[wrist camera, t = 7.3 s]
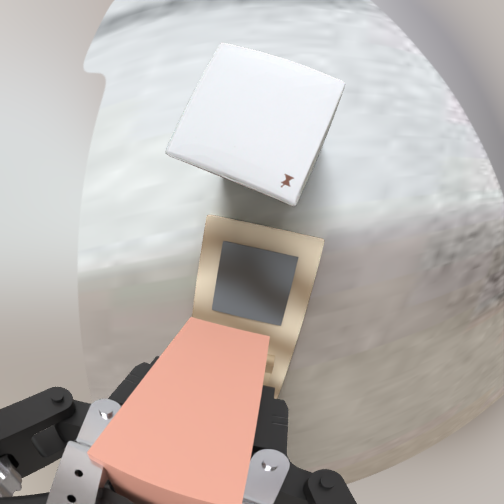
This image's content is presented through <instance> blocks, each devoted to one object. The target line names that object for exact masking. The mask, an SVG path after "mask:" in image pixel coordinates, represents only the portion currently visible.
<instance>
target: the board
mask: <svg viewBox="0 0 504 504" xmlns="http://www.w3.org/2000/svg"><path fill="white" fill-rule="evenodd" d="M324 241H325V240H324V239H322V238H318V237H313V236H309V235H304V234H300V233H295V232H291V231H286V230H282V229H277V228H273V227H268V226H263V225H258V224H254V223H249V222H244V221H239V220H234V219H229V218H224V217H219V216H214V215H207V217H206V223H205V229H204V235H203V242H202V248H201V254H200V261H199V268H198V275H197V282H196V290H195V297H194V305H193V313H192V317H193V318H197V319H200V320H204V321H208V322H212V323H215V324H219V325H223V326H227V327H231V328H235V329H240V330H244V331H248V332H253V333H257V334H262V335H266V336H270V339H269V346H268V353H267V360H266V367H265V374H264V380H263V385H265V386H270V387H275V394H274V399H277V398H278V395H279V392H280V389H281V387H282V384H283V381H284V378H285V375H286V372H287V369H288V366H289V363H290V360H291V357H292V354H293V351H294V348H295V345H296V342H297V339H298V335H299V332H300V329H301V326H302V322H303V319H304V316H305V312H306V309H307V305H308V302H309V298H310V295H311V291H312V288H313V284H314V280H315V277H316V273H317V269H318V265H319V261H320V257H321V253H322V249H323V245H324Z"/></svg>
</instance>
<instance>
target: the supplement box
mask: <svg viewBox="0 0 504 504" xmlns="http://www.w3.org/2000/svg"><path fill="white" fill-rule="evenodd" d="M344 87H345V82H343V81H341V80H339V79H337V78H334V77H332V76H329V75H327V74H325V73H322V72H320V71H317V70H315V69H312V68H309V67H307V66H304V65H301V64H299V63H296V62H293V61H290V60H287V59H284V58H281V57H277V56H274V55H271V54H267V53H264V52H260V51H257V50H253V49H249V48H245V47H241V46H236V45H232V44H227V43H220V45H219V46H218V48H217V50H216V52H215V53H214V55H213V57H212V59H211V60H210V62H209V64H208V66H207V68H206V69H205V71H204V73H203V75H202V77H201V79H200V81H199V83H198V84H197V86H196V88H195V90H194V92H193V94H192V96H191V98H190V100H189V102H188V104H187V106H186V108H185V110H184V112H183V114H182V116H181V118H180V120H179V122H178V124H177V126H176V128H175V130H174V133H173V135H172V137H171V139H170V141H169V144H168V146H167V148H166V151H165V152H166V154H167V155H169V156H171V157H173V158H176V159H178V160H181V161H183V162H186V163H188V164H191V165H193V166H196V167H198V168H201V169H203V170H206V171H208V172H210V173H213V174H215V175H218V176H220V177H223V178H225V179H228V180H230V181H233V182H235V183H238V184H240V185H242V186H245V187H247V188H250V189H252V190H255V191H257V192H260V193H262V194H265V195H267V196H270V197H272V198H274V199H277V200H279V201H281V202H284V203H286V204H288V205H290V206H296V205H297V203H298V200H299V198H300V196H301V194H302V192H303V189H304V187H305V185H306V183H307V181H308V178H309V176H310V174H311V172H312V170H313V167H314V165H315V163H316V160H317V158H318V156H319V153H320V151H321V148H322V146H323V143H324V141H325V138H326V136H327V133H328V131H329V128H330V126H331V123H332V120H333V118H334V115H335V112H336V109H337V107H338V104H339V101H340V98H341V96H342V93H343V90H344Z"/></svg>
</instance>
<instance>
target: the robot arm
mask: <svg viewBox="0 0 504 504" xmlns="http://www.w3.org/2000/svg"><path fill="white" fill-rule="evenodd" d="M158 359H159V356H157V357H155V359H154V360H153V361H152V362H151V364H148V363H145V362H144V363H142V364H140V365H138V366H135V368H134V369H133V370H132V371H131V372H130V374H129V375H128V376H127V377H126V378H125V380H123V382H122V383H121V384H120V385H119V386H118V387H117V389H116V390H115V391H114V392H113V393H112V394H111V396H110V397H109V398H108V399H99V400H96V401H94V402H93V403H92V404H88V403H84V402H80V401H76V400H73V397H72V394H71V393H70V392H69V391H68V390H67V389H65V388H62V387H52V388H50V389H47V390H45V391H43V392H41V393H38V394H36V395H33V396H31V397H29V398H26V399H24V400H22V401H19V402H17V403H14V404H12V405H10V406H7V407H5V408H2V409H0V504H134V503H133V502H131V501H130V500H129V499H127V498H126V497H123V496H121V495H119V494H117V493H116V491H115V489H114V487H113V485H112V483H111V481H110V479H109V477H108V475H107V473H106V471H105V468H104V466H102V465H100V464H99V463H97V462H95V461H93V460H91V459H90V458H89V456H88V454H87V452H88V450H89V449H90V448H91V446H92V445H93V444H94V442H95V441H96V440H97V438H98V437H99V436H100V434H101V433H102V432H103V430H104V429H105V428H106V426H107V425H108V424H109V422H110V421H111V420H112V419H113V417H114V416H115V415H116V413H117V412H118V411H119V409H120V408H121V407H122V405H123V404H124V403H125V401H126V400H127V399H128V398H129V396H130V395H131V394H132V392H133V391H134V390H135V388H136V387H137V386H138V385H139V383H140V382H141V381H142V379H143V378H144V377H145V375H146V374H147V373H148V371H149V370H150V369H151V368H152V366H153V365H154V364H155V362H156V361H157V360H158ZM274 394H275V387H270V386H265V385H263V387H262V393H261V400H260V406H259V412H258V418H257V424H256V430H255V436H254V442H253V448H252V453H251V459H250V464H249V470H248V475H247V480H246V486H245V491H244V496H243V501H242V504H357V503H356V501H355V500H354V498H353V496H352V494H351V493H350V491H349V489H348V487H347V485H346V483H345V481H344V479H343V478H342V476H341V475H340V474H338V473H337V472H335V471H332V470H327V469H323V470H318V471H316V472H314V473H311V472H308V471H306V470H303V469H300V468H298V467H296V466H295V465H293V464H292V463H291V462H290V460H289V459H288V457H287V432H288V407H287V405H286V403H285V401H284V400H280V399H274ZM60 458H61V461H60V464H59V467H58V469H57V472H56V475H55V478H54V481H53V484H52V487H51V490H50V492H48V493H42V494H35V495H26V496H14V497H12V496H13V493H14V492H15V491H20V490H21V488H22V486H21V483H22V478H23V477H25V476H28V475H30V474H31V473H33V472H35V471H37V470H39V469H41V468H43V467H45V466H47V465H49V464H51V463H53V462H54V461H56V460H58V459H60Z"/></svg>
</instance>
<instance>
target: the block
mask: <svg viewBox="0 0 504 504" xmlns="http://www.w3.org/2000/svg"><path fill="white" fill-rule="evenodd" d="M269 339H270V336H266V335H262V334H257V333H253V332H248V331H244V330H240V329H235V328H231V327H227V326H223V325H219V324H215V323H212V322H208V321H204V320H200V319H197V318H193V317H190V319H189V320H188V321H187V322H186V324H185V325H184V326H183V328H182V329H181V330H180V331H179V333H178V334H177V335H176V337H175V338H174V339H173V340H172V342H171V343H170V344H169V346H168V347H167V348H166V349H165V351H164V352H163V353H162V355H161V356H160V357H159V359H158V360H157V361H156V362H155V364H154V365H153V366H152V368H151V369H150V370H149V371H148V373H147V374H146V375H145V377H144V378H143V379H142V381H141V382H140V383H139V385H138V386H137V387H136V388H135V390H134V391H133V392H132V394H131V395H130V396H129V398H128V399H127V400H126V401H125V403H124V404H123V405H122V407H121V408H120V409H119V411H118V412H117V413H116V415H115V416H114V417H113V419H112V420H111V421H110V422H109V424H108V425H107V426H106V428H105V429H104V430H103V432H102V433H101V434H100V436H99V437H98V438H97V440H96V441H95V442H94V444H93V445H92V446H91V448H90V449H89V450H88V452H87V454H88V456H89V458H90V459H91V460H93V461H95V462H97V463H99V464H100V465H102V466H104V468H105V471H106V473H107V475H108V477H109V479H110V481H111V483H112V485H113V487H114V489H115V491H116V493H117V494H119V495H121V496H123V497H126V498H127V499H129V500H130V501H131V502H133V503H134V504H242V501H243V496H244V491H245V486H246V480H247V475H248V470H249V464H250V459H251V453H252V448H253V442H254V436H255V430H256V424H257V418H258V412H259V406H260V400H261V393H262V387H263V380H264V374H265V367H266V360H267V353H268V346H269Z"/></svg>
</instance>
